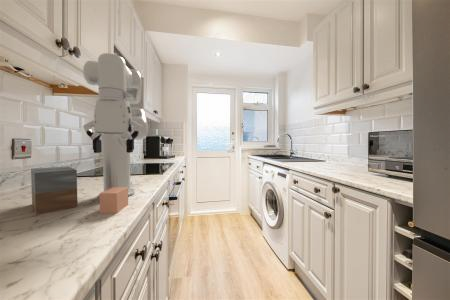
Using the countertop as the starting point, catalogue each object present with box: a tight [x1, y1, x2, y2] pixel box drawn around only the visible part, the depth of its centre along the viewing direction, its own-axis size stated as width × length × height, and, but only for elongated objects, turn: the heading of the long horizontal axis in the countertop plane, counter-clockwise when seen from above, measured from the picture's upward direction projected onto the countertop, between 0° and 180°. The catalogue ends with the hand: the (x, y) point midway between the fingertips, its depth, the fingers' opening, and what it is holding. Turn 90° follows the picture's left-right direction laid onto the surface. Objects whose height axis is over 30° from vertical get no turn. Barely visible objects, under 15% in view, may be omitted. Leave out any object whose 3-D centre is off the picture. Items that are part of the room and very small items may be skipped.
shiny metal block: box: [30, 166, 79, 215], centre depth 68 cm, size 14×10×12 cm
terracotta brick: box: [98, 187, 129, 214], centre depth 65 cm, size 8×5×6 cm, turn 3°
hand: (113, 152), depth 64 cm, fingers open, 9 cm apart
